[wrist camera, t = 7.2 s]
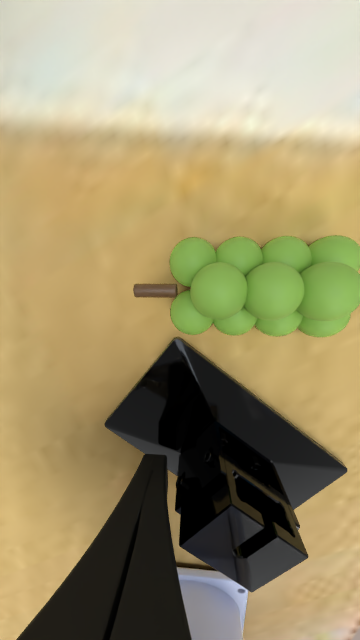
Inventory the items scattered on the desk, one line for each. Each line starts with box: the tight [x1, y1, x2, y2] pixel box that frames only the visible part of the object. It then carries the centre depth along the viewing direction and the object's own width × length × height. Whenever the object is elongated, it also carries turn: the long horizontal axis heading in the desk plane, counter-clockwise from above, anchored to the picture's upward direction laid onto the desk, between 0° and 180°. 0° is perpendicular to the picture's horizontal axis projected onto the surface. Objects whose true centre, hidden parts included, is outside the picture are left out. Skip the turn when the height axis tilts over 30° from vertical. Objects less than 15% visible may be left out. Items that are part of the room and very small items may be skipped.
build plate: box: [105, 337, 347, 592], centre depth 9 cm, size 12×7×5 cm, turn 52°
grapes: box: [133, 235, 360, 337], centre depth 7 cm, size 4×9×3 cm, turn 90°
